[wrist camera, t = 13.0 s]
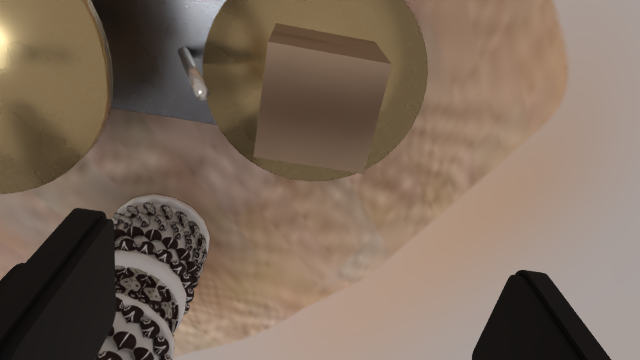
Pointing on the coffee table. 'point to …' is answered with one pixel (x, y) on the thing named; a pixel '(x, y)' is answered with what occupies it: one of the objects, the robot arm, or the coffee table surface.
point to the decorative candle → (153, 275)
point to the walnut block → (320, 98)
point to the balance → (175, 72)
